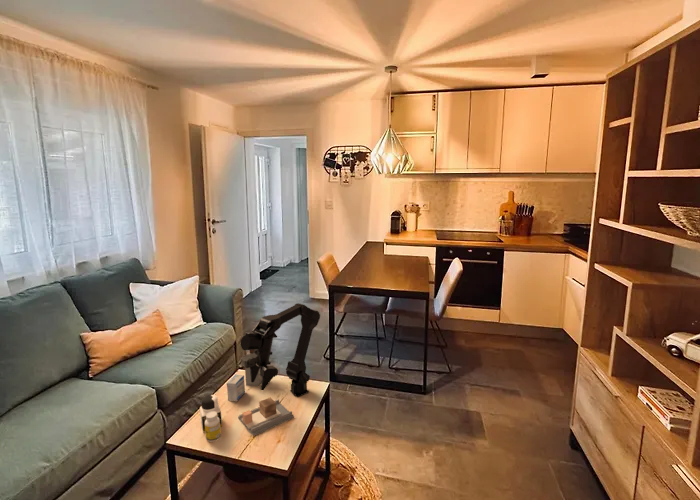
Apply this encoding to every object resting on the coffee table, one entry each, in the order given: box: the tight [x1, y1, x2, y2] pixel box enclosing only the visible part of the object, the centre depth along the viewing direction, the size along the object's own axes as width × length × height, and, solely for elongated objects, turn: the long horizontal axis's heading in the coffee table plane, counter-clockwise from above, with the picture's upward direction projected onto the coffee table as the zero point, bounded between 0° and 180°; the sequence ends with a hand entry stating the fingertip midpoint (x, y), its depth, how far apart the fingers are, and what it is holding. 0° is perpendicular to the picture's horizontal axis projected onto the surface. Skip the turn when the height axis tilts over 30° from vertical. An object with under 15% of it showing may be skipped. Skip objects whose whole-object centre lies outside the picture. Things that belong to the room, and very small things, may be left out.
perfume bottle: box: [244, 349, 262, 387], centre depth 181 cm, size 7×7×18 cm
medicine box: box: [226, 374, 246, 402], centre depth 170 cm, size 8×4×9 cm, turn 168°
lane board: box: [237, 399, 295, 437], centre depth 155 cm, size 18×14×2 cm
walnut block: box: [258, 397, 276, 418], centre depth 155 cm, size 5×5×5 cm
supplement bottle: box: [204, 411, 222, 443], centre depth 143 cm, size 5×5×10 cm
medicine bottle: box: [199, 394, 223, 433], centre depth 150 cm, size 7×7×12 cm
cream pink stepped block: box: [241, 409, 281, 429], centre depth 153 cm, size 14×7×5 cm, turn 129°
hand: (257, 386), depth 153 cm, fingers open, 9 cm apart
